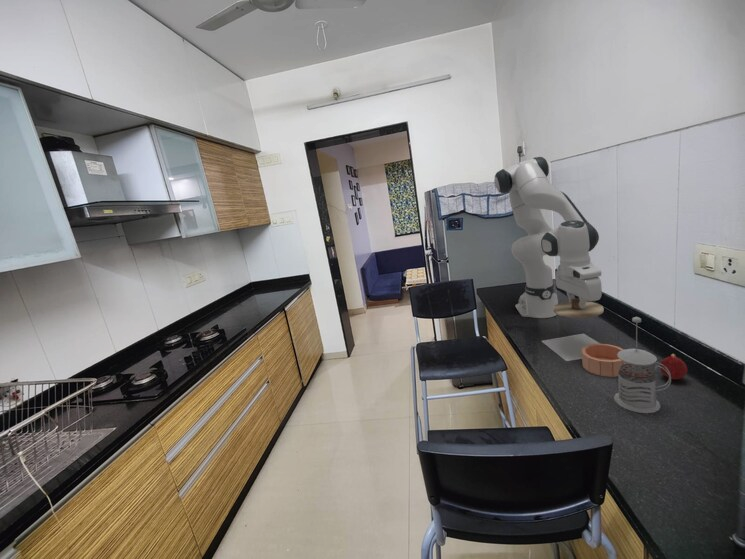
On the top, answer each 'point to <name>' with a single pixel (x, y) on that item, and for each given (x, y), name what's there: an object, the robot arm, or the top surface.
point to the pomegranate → (674, 367)
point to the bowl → (602, 359)
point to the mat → (570, 346)
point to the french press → (636, 393)
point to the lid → (578, 309)
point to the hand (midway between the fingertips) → (577, 305)
